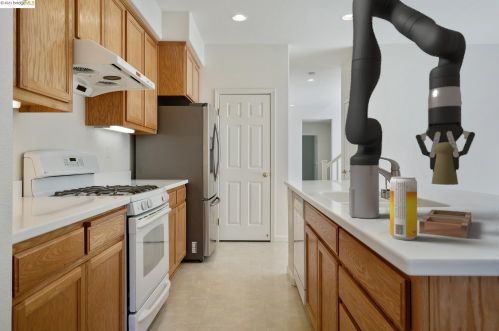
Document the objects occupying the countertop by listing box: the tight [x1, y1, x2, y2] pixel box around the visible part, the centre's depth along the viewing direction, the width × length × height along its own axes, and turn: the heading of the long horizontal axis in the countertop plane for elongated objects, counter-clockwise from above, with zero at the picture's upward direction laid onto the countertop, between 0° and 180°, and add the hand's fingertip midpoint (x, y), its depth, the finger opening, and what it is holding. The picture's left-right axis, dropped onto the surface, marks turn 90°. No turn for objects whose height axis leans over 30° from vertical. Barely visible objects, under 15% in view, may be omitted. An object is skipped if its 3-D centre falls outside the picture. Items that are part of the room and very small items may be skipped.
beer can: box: [389, 175, 418, 241], centre depth 80 cm, size 6×6×15 cm
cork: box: [431, 142, 459, 186], centre depth 86 cm, size 6×6×11 cm
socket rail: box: [418, 209, 472, 239], centre depth 91 cm, size 23×10×3 cm, turn 144°
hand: (444, 171), depth 86 cm, fingers closed on cork, 4 cm apart
